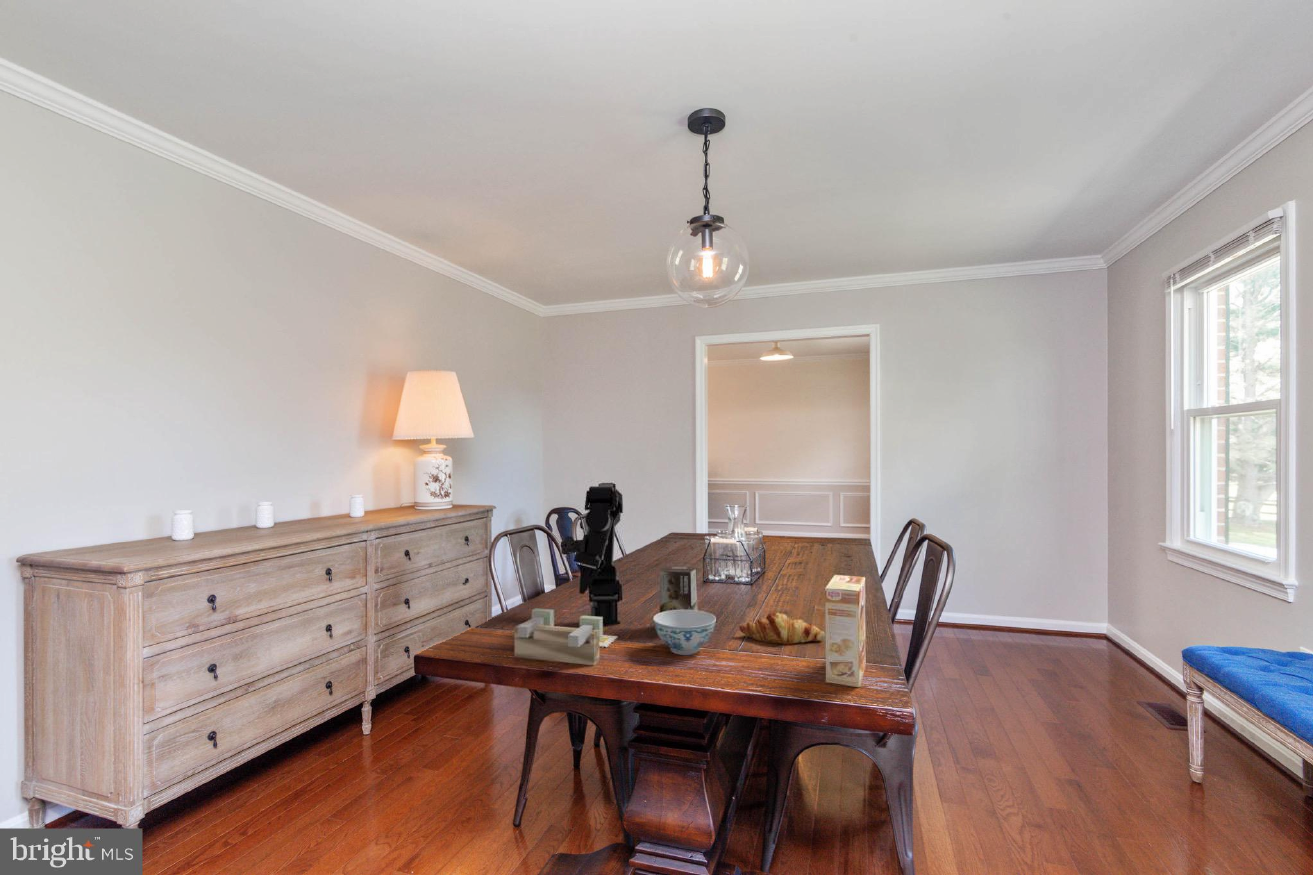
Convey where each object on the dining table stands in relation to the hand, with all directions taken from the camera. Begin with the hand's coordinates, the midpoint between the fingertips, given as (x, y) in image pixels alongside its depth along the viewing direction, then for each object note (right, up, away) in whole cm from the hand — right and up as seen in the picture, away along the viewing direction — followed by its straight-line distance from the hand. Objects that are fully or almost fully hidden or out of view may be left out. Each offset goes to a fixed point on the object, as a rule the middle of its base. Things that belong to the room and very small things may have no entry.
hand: (581, 593), depth 158 cm
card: (+2, -11, -1) cm, 12 cm away
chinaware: (+26, -11, -9) cm, 30 cm away
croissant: (+51, -12, -1) cm, 52 cm away
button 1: (-10, -7, -10) cm, 16 cm away
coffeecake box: (+60, -11, -25) cm, 66 cm away
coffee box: (+25, -12, +8) cm, 29 cm away
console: (-4, -11, -15) cm, 19 cm away
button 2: (+3, -7, -17) cm, 19 cm away
